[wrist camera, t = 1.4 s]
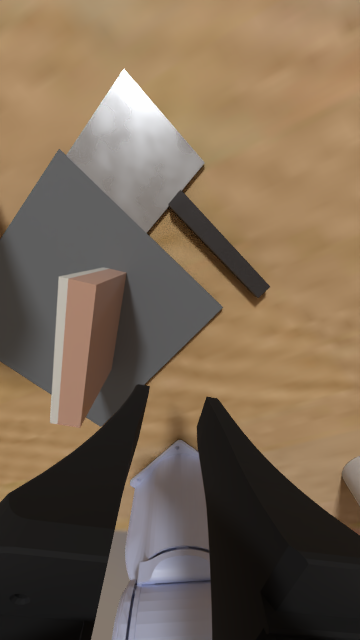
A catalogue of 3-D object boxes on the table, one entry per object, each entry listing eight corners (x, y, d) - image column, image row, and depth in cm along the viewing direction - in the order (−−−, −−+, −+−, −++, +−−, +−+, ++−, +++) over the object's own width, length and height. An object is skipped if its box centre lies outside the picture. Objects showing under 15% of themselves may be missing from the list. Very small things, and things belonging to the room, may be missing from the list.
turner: (288, 262, 19) (295, 263, 18) (232, 316, 21) (235, 319, 19) (124, 72, 15) (121, 58, 14) (68, 157, 16) (60, 150, 15)
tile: (126, 272, 19) (96, 284, 11) (111, 369, 21) (79, 427, 14) (103, 267, 18) (58, 276, 11) (91, 365, 21) (50, 422, 14)
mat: (102, 423, 24) (100, 426, 24) (-50, 323, 20) (-56, 324, 20) (221, 306, 20) (222, 307, 20) (62, 151, 16) (59, 148, 16)
